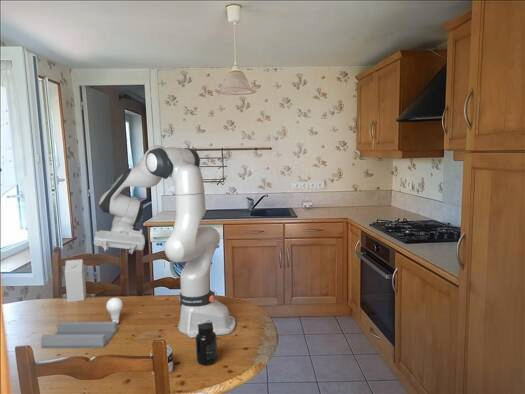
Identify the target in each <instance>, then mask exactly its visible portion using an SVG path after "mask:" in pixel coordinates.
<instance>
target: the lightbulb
mask: <svg viewBox="0 0 525 394" xmlns="http://www.w3.org/2000/svg"><path fill="white" fill-rule="evenodd" d="M123 304H124V303H123V301H122V300H121V299H120V298H118V297H112V298H109V300H107V302H106V306H105V307H106V310H107V312H108V313H109V315H110V319H111V322H117V324H119V322H120V315H121V314H120V313H121V311H122V309H123Z"/></svg>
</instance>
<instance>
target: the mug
mask: <svg viewBox="0 0 525 394" xmlns="http://www.w3.org/2000/svg"><path fill="white" fill-rule="evenodd" d="M166 346H167V356H168V365H169V375H170V374H171V373H172V372H173V371H174V362H173V361H174V358H173V357H174V355H173V347H172V344H170V343H169V344H167V345H166ZM149 354H150V357H151V356H152V349H151V350H150V353H149ZM172 370H173V371H172ZM171 371H172V372H171ZM150 373H151V374H152V376H153V375H154V373H153V372H151V371H150Z"/></svg>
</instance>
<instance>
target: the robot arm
mask: <svg viewBox="0 0 525 394" xmlns="http://www.w3.org/2000/svg"><path fill="white" fill-rule="evenodd" d="M200 165H201V161H200V156H199V154H198V152H197V151H196V150H194V149H193V148H192V149H191V148H188V147H185V148H182V147H173V146H170V147H165V146H162V145H159V144H158V145H152V146H151V147H149V149H148V150H146V152H145V153H144V154H143V156H142V157H141V159H140V161H139V163H138V164H136V166H133V167H131V168H130V167H128V168H126V169H125V170H124V171H123V172H122V173H121V174H120V175H119V177H117V179H116V180H115V181H114V183H112V185H111V186H110V187H109V188H108V189H107V190H106V191H105V192H104V193H103V194H102V195H101V197H100V200H99V203H98V206H99V208H100V210H101V211H102V212H103V213H106V214H109V215H110V214H111V215H114V217H113V220H112V223H111V229H110V230H103V229H101V230H98V231H95V233H94V238H93V245H94V246H97V247H102V248H103V251H104V252H109V248H114V249H115V248H116V249H124V250H128V254H130V255H133V253H134V252H135V251H143V250H144V249H145V245H146V238H145V235H144V234H143V229H141V228H137V227H135V225H136V224H138V223H139V222H140V220H141V218H142V216H143V211H144V206H143V203H142V201H141V200H139V199H135V198H133V197H129V196H127V195H124V194H122V193H121V192H122V191H123V190H124V189H125V188H127V187H135V188H138V187H139V188H144V189H145V188H153V187H156V186H157V185H158V184H160V182H161V181H162V179H164V180H166V179H168V178H170V179H172V181H173V183H174V197H175V219H174V225H173V228H172V231H171V233H170V236H169V237H168V239H166V241H165V244H164V248H163V249H164V254H165V256H166V258H167V259H168V260H169V261H171V262H172V263H175V264H176V263H185V265H184V267H183V268H182V269H181V270H180V275H179V279H180V281H179V282H180V292H179V307H180V316H179V323H178V326H177V329H178V331H179V332H180V333H182V334H185V335H186V336H187V337H188V338H192V339H193V338H194V339H195V338H196V335H197V334H198V326H199V325H200V324H203V323H211V324H212V325H213V331H214V332H215V333H216V336H221V335H229V334H231V333H232V332H233V331H234V330H235V328H236V318H235V317H234V316H232V315H230V311H229V308H228V307H227V306H226V305H225V304H223V303H222V302H219V301H218V299H216V293H215V292H216V291H215V290H213V291H212V290H211V289H210V272H211V265H212V261H213V260H212V259H213V257H214V254H215V251H216V249H217V248H218V246H219V245H220V241H221V237H220V234H219V231H218V230H217V229H216V228H215V227H213V226H208V225H207V226H205V225H203V226H201V222H202V219H203V218H204V217H205V215H206V212H207V211H206V210H207V209H206V197H205V196H206V193H205V185H204V179H203V175H202V171H201V169H200Z"/></svg>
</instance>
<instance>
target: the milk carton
mask: <svg viewBox="0 0 525 394" xmlns="http://www.w3.org/2000/svg"><path fill="white" fill-rule="evenodd" d="M64 266H65V267H64V279H65V289H66V291H65V292H66V301H67V303H74V302H81V301H82V302H84V301H85V300H86V296H87V287H86V286H87V285H86V273H85V265H84V261H83V258H82V259H71V260H70V259H69V260H65V265H64Z"/></svg>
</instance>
